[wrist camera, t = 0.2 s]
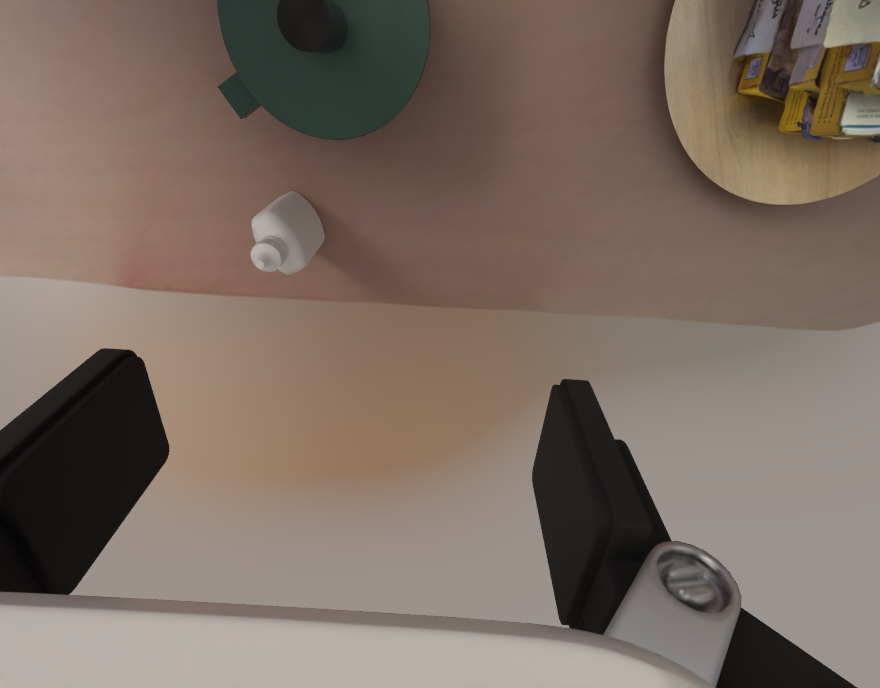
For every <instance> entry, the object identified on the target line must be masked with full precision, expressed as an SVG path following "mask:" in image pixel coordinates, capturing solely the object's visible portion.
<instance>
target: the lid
mask: <svg viewBox="0 0 880 688" xmlns="http://www.w3.org/2000/svg"><path fill="white" fill-rule="evenodd" d="M218 14H219V21H220V27H221V31H222V35H223V39H224V43H225V46H226V48H227V51H228V54H229V56H230V59H231V61H232V63H233V65H234V67H235V69H236V71H237V73H238V75H239V77H240V78H241V80H242V81H243V83H244V85H245V86H246V88H247V89H248V90H249V91H250V93H251V94H252V95H253V97H254V98H255V99H256V100H257V101H258V102H259V103H260V104H261V105H262V106H263V107H264V108H265V109H266V110H267V111H268V112H269V113H270V114H271V115H273V116H274V117H275V118H276V119H278V120H279V121H281V122H282V123H284V124H285V125H287V126H289V127H291V128H293V129H295V130H297V131H299V132H301V133H304V134H307V135H309V136H312V137H317V138H322V139H331V140H343V139H351V138H356V137H360V136H363V135H366V134H369V133H371V132H373V131H375V130H377V129H379V128H380V127H382V126H384V125H385V124H386V123H388V122H389V121H390V120H392V119H393V118H394V117H395V116H396V115H397V114H398V113H399V112H400V111H401V110H402V109H403V108H404V106H405V105H406V104H407V102H408V101H409V100H410V98H411V97H412V95H413V93H414V91H415V89H416V88H417V86H418V84H419V81H420V79H421V76H422V74H423V71H424V67H425V64H426V60H427V55H428V49H429V42H430V16H429V6H428V0H218Z"/></svg>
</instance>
